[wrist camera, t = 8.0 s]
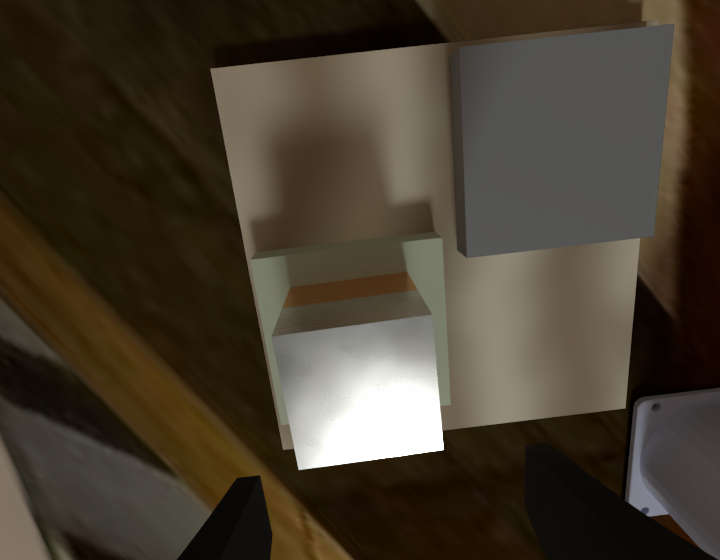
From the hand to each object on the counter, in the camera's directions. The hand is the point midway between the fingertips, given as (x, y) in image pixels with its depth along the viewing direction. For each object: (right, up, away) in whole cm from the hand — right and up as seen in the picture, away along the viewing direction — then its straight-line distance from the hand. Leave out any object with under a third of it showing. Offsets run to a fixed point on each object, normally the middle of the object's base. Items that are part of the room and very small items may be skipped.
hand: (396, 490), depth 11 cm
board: (+3, +7, +9) cm, 12 cm away
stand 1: (-1, +4, +10) cm, 10 cm away
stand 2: (+7, +12, +8) cm, 16 cm away
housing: (-1, +3, +7) cm, 8 cm away
